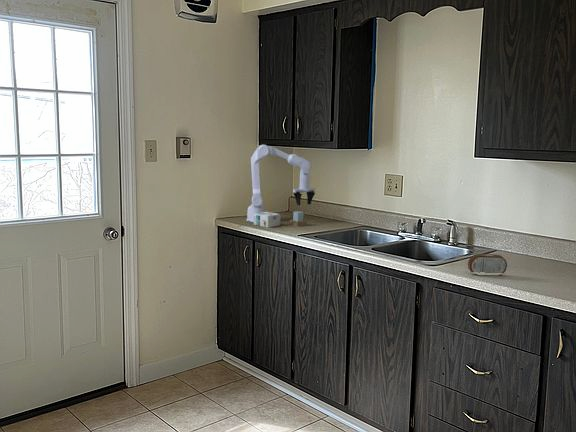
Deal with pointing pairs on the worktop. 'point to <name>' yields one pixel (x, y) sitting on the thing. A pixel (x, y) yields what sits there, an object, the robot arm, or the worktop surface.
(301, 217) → the blue block
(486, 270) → the tin
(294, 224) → the walnut slab
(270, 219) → the light bulb box
